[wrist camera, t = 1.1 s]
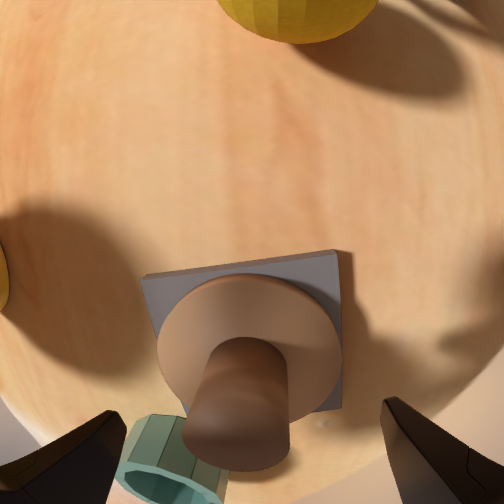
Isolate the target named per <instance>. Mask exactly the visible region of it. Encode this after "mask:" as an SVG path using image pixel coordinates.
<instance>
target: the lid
mask: <svg viewBox="0 0 504 504" xmlns="http://www.w3.org/2000/svg"><path fill="white" fill-rule="evenodd" d="M157 356H158V363H159V366H160V369H161V373H162V375H163V377H164V379H165V381H166V383H167V384H168V386H169V387H170V389H171V390H172V391H173V393H174V394H175V395H176V396H177V397H178V398H179V399H180V400H181V401H182V402H183V403H184V404H185V405H186V406H188V407H189V408H190V410H189V413H188V416H187V419H186V421H185V424H184V427H183V430H182V440H183V443H184V445H185V446H186V448H187V449H188V450H189V451H190V452H191V453H192V454H193V455H194V456H195V457H197V458H198V459H200V460H201V461H203V462H205V463H207V464H209V465H212V466H214V467H217V468H221V469H225V470H230V471H240V472H248V471H258V470H263V469H266V468H269V467H272V466H274V465H276V464H278V463H279V462H281V461H282V460H283V459H284V458H285V457H286V456H287V454H288V452H289V449H290V433H289V423H292V422H294V421H296V420H299V419H301V418H303V417H304V416H306V415H308V414H310V413H311V412H312V411H314V410H315V409H317V408H318V407H319V406H320V405H321V404H322V403H323V402H324V401H325V400H326V399H327V397H328V396H329V395H330V394H331V392H332V390H333V389H334V387H335V385H336V383H337V381H338V378H339V375H340V371H341V364H342V353H341V346H340V343H339V339H338V336H337V333H336V331H335V328H334V325H333V323H332V321H331V319H330V317H329V315H328V314H327V312H326V311H325V309H324V308H323V307H322V306H321V305H320V303H319V302H318V301H317V300H316V299H315V298H314V297H312V296H311V295H310V294H309V293H308V292H306V291H305V290H303V289H301V288H300V287H298V286H297V285H295V284H292V283H290V282H288V281H286V280H283V279H280V278H277V277H273V276H269V275H263V274H256V273H237V274H229V275H224V276H219V277H216V278H213V279H210V280H208V281H206V282H204V283H202V284H200V285H198V286H196V287H195V288H193V289H192V290H190V291H189V292H188V293H187V294H186V295H185V296H184V297H183V298H181V300H180V301H179V302H178V303H177V305H176V306H175V307H174V309H173V310H172V311H171V312H170V314H169V315H168V316H167V318H166V320H165V321H164V323H163V325H162V327H161V330H160V333H159V337H158V343H157Z"/></svg>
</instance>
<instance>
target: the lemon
mask: <svg viewBox="0 0 504 504" xmlns="http://www.w3.org/2000/svg"><path fill="white" fill-rule="evenodd" d="M377 1H378V0H217V2H218V3H219V4H220V6H221V7H222V8H223V10H224V11H225V12H226V14H227V15H228V16H229V17H231V18H232V19H233V20H234V21H236V22H237V23H238V24H240V25H241V26H242V27H244V28H245V29H247V30H249V31H251V32H253V33H255V34H257V35H259V36H261V37H264V38H268V39H271V40H275V41H278V42H285V43H294V44H303V43H317V42H321V41H325V40H329V39H333V38H336V37H338V36H340V35H342V34H344V33H346V32H348V31H350V30H351V29H353V28H354V27H356V26H357V25H358V24H359V23H360V22H361V21H362V20H363V19H364V18H365V17H366V16H367V15H368V14H369V13H370V12H371V11H372V10H373V8H374V7H375V5H376V4H377Z"/></svg>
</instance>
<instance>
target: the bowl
mask: <svg viewBox="0 0 504 504" xmlns="http://www.w3.org/2000/svg"><path fill="white" fill-rule="evenodd" d="M185 421H186V419H183V418H180V417H177V416H165V415H153V414H152V415H149V416H146V417H144V418H142V419H140V420H138V421H136V422H135V424H134V426H133V428H132V429H131V431H130V433H129V435H128V437H127V438H126V440H125V442H124V445H123V450H122V454H121V458H120V462H119V465H118V468H117V471H116V474H115V477H114V478H115V479H116V480H117V481H118V482H119V484H120V485H121V486H122V487H123V488H124V489H125V490H127V491H128V492H130V493H132V494H133V495H135V496H136V497H138V498H140V499H141V500H143V501H145V502H147V503H149V504H224V499H225V494H226V488H227V483H228V477H229V472H230V470H225V469H221V468H217V467H214V466H212V465H209V464H207V463H205V462H203V461H201V460H200V459H198V458H197V457H195V456H194V455H193V454H192V453H191V452H190V451H189V450H188V449H187V448H186V446H185V445H184V443H183V440H182V430H183V427H184V424H185Z"/></svg>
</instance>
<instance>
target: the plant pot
mask: <svg viewBox="0 0 504 504" xmlns="http://www.w3.org/2000/svg"><path fill="white" fill-rule="evenodd" d="M8 296H9V276H8V269H7V264H6V260H5V256H4V253H3V249H2V247H1V244H0V311H1V310H2V309H3V307H4V306H5V305H6V302H7V300H8Z"/></svg>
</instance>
